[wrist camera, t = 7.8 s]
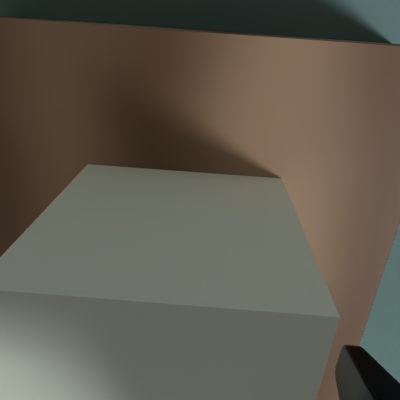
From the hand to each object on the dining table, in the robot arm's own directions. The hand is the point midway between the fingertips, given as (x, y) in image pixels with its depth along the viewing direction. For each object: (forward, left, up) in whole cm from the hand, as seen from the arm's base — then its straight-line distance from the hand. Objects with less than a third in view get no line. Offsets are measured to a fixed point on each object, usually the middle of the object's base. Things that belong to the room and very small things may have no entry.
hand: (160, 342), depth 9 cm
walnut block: (0, 0, -8) cm, 8 cm away
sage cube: (0, 0, -4) cm, 4 cm away
